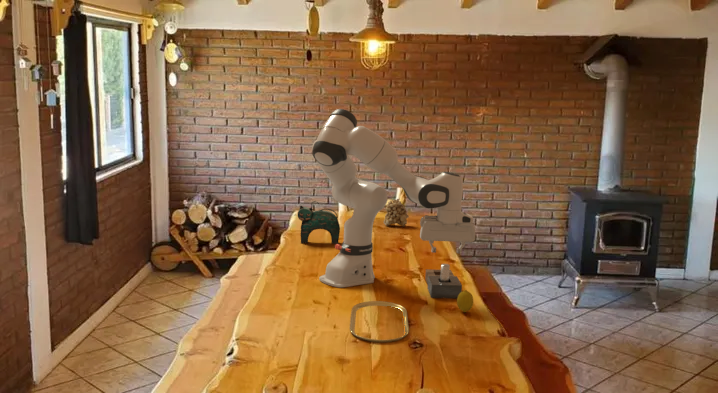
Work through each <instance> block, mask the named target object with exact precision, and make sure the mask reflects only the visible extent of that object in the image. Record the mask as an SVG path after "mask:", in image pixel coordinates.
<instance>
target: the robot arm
mask: <svg viewBox="0 0 718 393" xmlns="http://www.w3.org/2000/svg"><path fill="white" fill-rule="evenodd" d="M311 153H312V156H313V158H314V160H315V161H316V163H317V165H318V167H319V168H320V169H321V170H322V171H323V173H324V174H325V175H326V177H327V178H328V180H329V181H330V182H331V185H332V187H331V196H332V198H333V200H334V201H336V202H338V204H341V205H343V206H346V207H351V208H353V212H352V215H351V217H349V218H348V219H347V220H345V221H344V225H343V242H342V244H339V243H338V244H334V248H335V249H336V250H339V252H338V254H336V256H334V257H333V258H332V259H331V261H329V262H328V263H327V265H326V268H325V273H324V274H322V275H320V276H319V279H318V280H319V281H320V282H322V283H323V284H325V285H328V286H332V287H335V288H347V287H353V286H354V287H355V286H359V285H367V284H374V282H375V274H374V269H373V267H374V266H373V258H372V257H373V256H372V253H373V249H374V247H373V246H374V245H373V242H372V239H373V226H374V222H375V219H376V217H377V215H378V213H379V212H381V211H382V210H383V209H384V208H386V206H387V204H388V199H389V196H388V191H387V190H386V188H385V187H383V186H382V185H380V184H378V183H375V182H370V181H366V180H362V179H360V178H358V177H357V171H358V170H357V165H356V164H355V162H354V161H353V160H352V158H351V157H350V156H349V155H352V156H354V157H356V158H358V160H359V161H361V162H362V164H364V165H366V166H367V167H368V168H370V169H371V170H373V171H375V172H377V173H378V174H380V175H381V174H382V175H386V176H387V177H389V178H390V179H391V180H392V181H394V182H395V183H396V184H397V185H399V186H400V187H401V188H402V190H403V192H404V194H405V195H406V197H407V199H408V200H409V201H410V202H412V203H415V204H417V205H419V206H420V207H423V208H424V209H436V215H428V214H426V215H424V216H422V217H420V219H419V220H420V221H419V225H420V231H419V232H420V233H419V238H420V239H421V240H422V241H427V242H428V243H429V245H430V247H431V249H430V250H431V253H437V247H436V246H434V245H433V244H434V242H457V243H460V245H459V246H458V247H456V253H457V254H462V249H463V248H464V247H465V246H466V243H473V242H474V241H475V240H476V227H475V225H474V217H473V216H472V215H471V214H469V213H467V212H464V211H462V208H463V206H462V200H463V194H464V193H463V192H464V186H463V185H464V184H463V177H461V175H459V174H458V173H454V172H451V171H442V172H441V173H440V174H439V175H437V176H436V177H434V178H431V179H429V180H428V179H427V178H425V177H423V176H421V175H416V174H413V173H412V172H411V171H409V169H407V168H406V167H405V166H404V165H403V164H401V163H400V162H399V160H398V159H399V156H398V151H397V150H396V149H395V148H394V147H393V145H391V143H390V142H389V141H387V140H386V139H385V138H384V137H382V136H381V135H379V134H378V133H377V132H375V131H373V129H370V128H368V127H366V126H364V125H358V119H357V118H356V116H355V115H354V114H353V113H352V112H351V111H349V110H347V109H343V108H338V109H335V110H334V111H332V112H331V113H330V115H329V116H328V118H327V120H326V121H325V123H324V124H323V126H322V128H321V130H320V132H319V134H318V136H317V138H316V140H314V142H313V143H312V145H311Z"/></svg>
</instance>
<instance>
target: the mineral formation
mask: <svg viewBox="0 0 718 393" xmlns="http://www.w3.org/2000/svg"><path fill="white" fill-rule="evenodd" d="M385 211H386V213H385V215H384V220H383V224H384V225H385V226H388V227H389V226H390V225H395V224H397V225H399V226H401V227H405V226H406V225H407V223H408V221H407V219H409V218H410V217H409V216H410V215H409V214H408V212H407V209H406V207H405V205H404V204H403V203H402V201H400V199H399V198H396V199H392V200H390V201H387V204H386V206H385Z"/></svg>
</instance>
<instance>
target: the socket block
mask: <svg viewBox="0 0 718 393" xmlns="http://www.w3.org/2000/svg"><path fill="white" fill-rule="evenodd" d="M424 275H425V279H424V280H425V282H426V284H427V286H428V276H440V275H441V269H428V268H427V269H425V274H424ZM449 276H455V275H454V273H453V270H451V269H450V270H449Z"/></svg>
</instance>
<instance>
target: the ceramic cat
mask: <svg viewBox="0 0 718 393" xmlns="http://www.w3.org/2000/svg"><path fill="white" fill-rule="evenodd" d="M313 203H316V204H318V205H320V203H319V202H318V201H316V200H315V201H312V202H311V204H310V207H308V206H303V205H300V206H299V209H298V212H297V219H298V220H300V221H301V225H300V244H308V243H309V237H310V235H311V233H312V232H313V231H315V230H324V231H326V232H328V233H329V234H330V240H331V244H334V245H336V244H339V240H340V232H341V231H340V230H341V225H340V223H339V219H338V217H339V216H338V214H337V213H336V211H335V210H333V209H331V208H322V209H318V210H316V209H313V206H312V205H313Z"/></svg>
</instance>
